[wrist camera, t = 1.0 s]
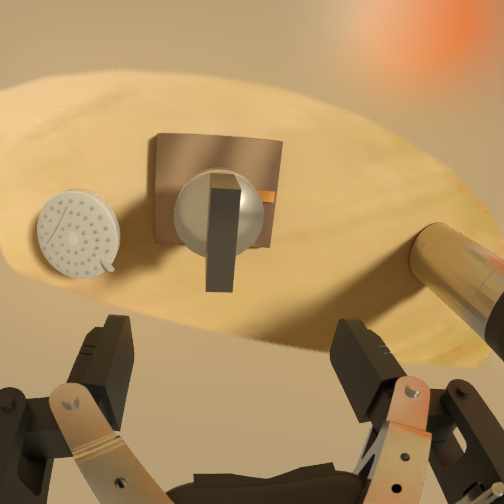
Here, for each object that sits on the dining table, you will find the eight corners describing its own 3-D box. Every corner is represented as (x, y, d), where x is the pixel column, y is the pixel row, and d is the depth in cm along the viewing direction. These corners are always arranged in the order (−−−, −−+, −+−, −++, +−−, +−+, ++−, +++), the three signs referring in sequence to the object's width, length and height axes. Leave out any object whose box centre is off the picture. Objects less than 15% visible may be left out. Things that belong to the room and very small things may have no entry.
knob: (263, 170, 27) (285, 191, 19) (253, 260, 30) (269, 309, 22) (178, 165, 25) (166, 184, 18) (175, 257, 29) (166, 306, 21)
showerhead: (92, 303, 30) (20, 248, 26) (109, 272, 37) (48, 225, 33) (138, 237, 28) (57, 173, 24) (150, 214, 35) (84, 162, 31)
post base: (279, 140, 33) (298, 146, 26) (267, 242, 38) (281, 271, 31) (159, 133, 31) (146, 136, 24) (156, 238, 36) (145, 266, 29)
